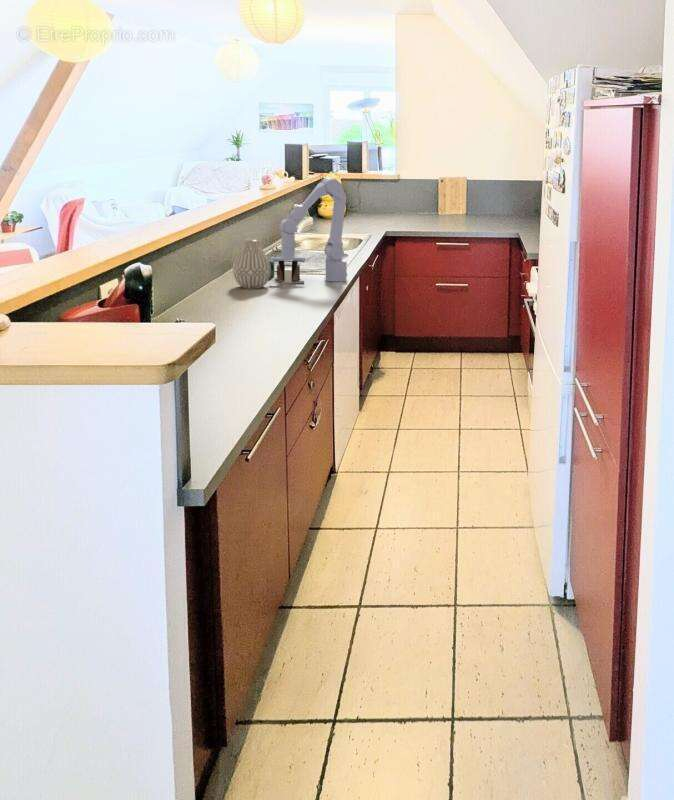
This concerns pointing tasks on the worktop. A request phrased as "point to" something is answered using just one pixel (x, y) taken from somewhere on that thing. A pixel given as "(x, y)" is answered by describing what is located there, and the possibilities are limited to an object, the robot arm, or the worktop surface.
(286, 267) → the cream flat block piece
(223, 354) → the worktop surface
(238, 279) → the vase
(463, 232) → the worktop surface
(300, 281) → the mat
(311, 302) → the worktop surface
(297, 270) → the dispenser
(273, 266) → the bracket
